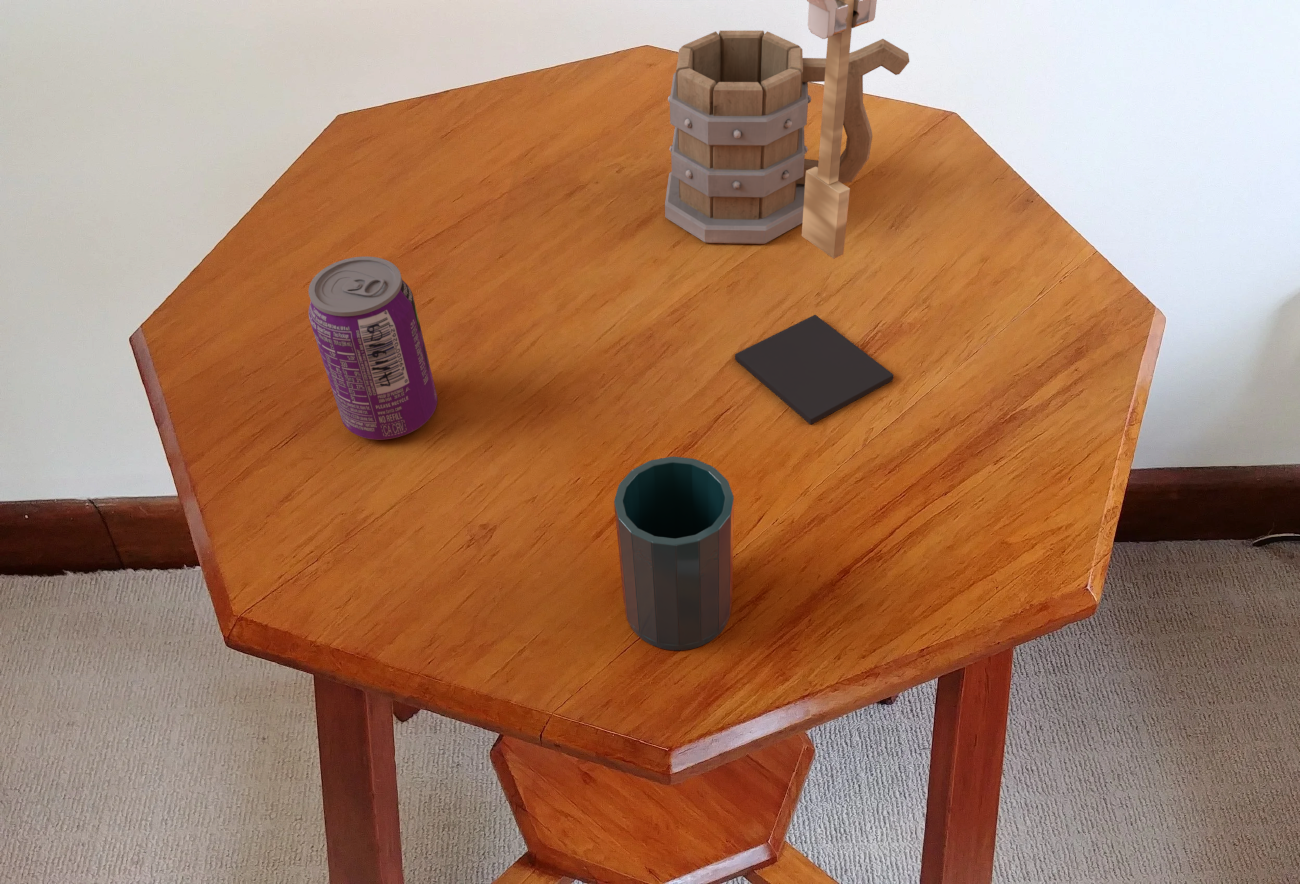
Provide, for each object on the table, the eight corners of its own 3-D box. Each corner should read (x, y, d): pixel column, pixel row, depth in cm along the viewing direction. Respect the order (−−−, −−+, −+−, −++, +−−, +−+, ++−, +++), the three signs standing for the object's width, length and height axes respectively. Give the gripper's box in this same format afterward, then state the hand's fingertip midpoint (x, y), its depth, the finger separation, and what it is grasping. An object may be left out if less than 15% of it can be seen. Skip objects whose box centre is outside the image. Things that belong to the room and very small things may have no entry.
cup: (752, 616, 69) (757, 508, 62) (664, 669, 67) (658, 563, 60) (690, 549, 73) (687, 440, 66) (605, 597, 71) (592, 489, 63)
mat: (893, 380, 84) (894, 374, 83) (810, 425, 81) (811, 419, 80) (814, 320, 89) (815, 314, 89) (734, 359, 86) (734, 353, 86)
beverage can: (453, 388, 85) (424, 258, 77) (417, 453, 80) (382, 323, 72) (367, 375, 87) (329, 246, 78) (326, 439, 82) (282, 309, 73)
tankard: (662, 244, 97) (655, 82, 87) (672, 166, 106) (667, 11, 95) (896, 247, 95) (918, 83, 85) (886, 168, 104) (905, 10, 94)
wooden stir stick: (843, 254, 76) (873, -44, 62) (833, 259, 76) (860, -40, 62) (811, 231, 78) (832, -63, 64) (801, 236, 78) (820, -59, 64)
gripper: (735, -181, 50) (732, 103, 60) (1051, -266, 58) (1002, -2, 68) (656, -211, 54) (665, 60, 64) (961, -288, 62) (928, -35, 72)
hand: (841, 27), depth 66 cm, fingers closed on wooden stir stick, 1 cm apart
